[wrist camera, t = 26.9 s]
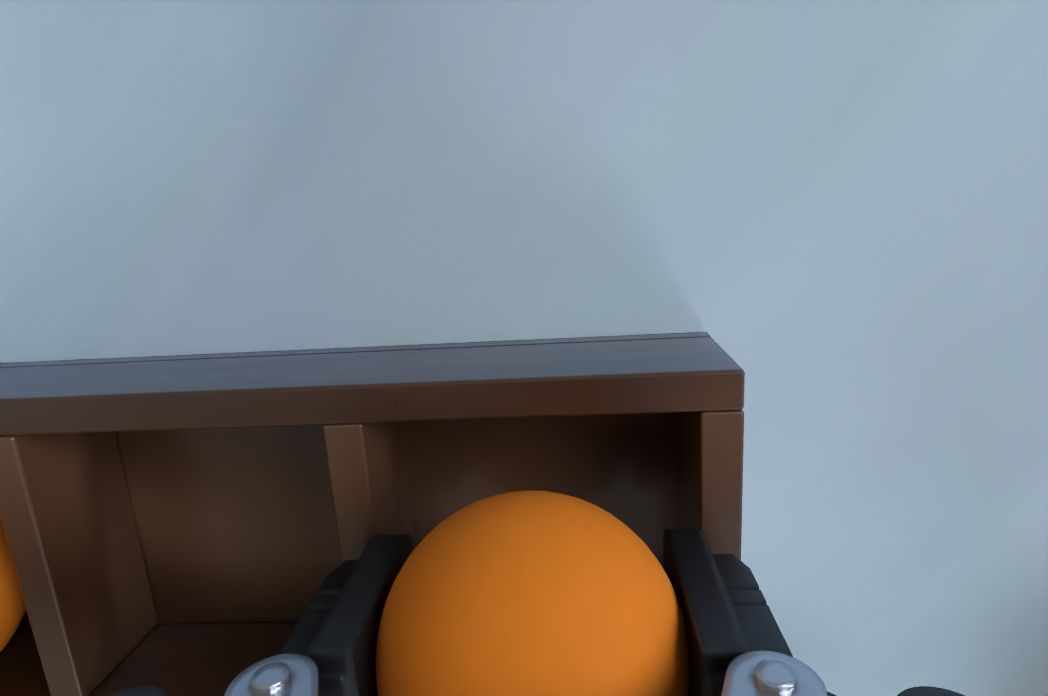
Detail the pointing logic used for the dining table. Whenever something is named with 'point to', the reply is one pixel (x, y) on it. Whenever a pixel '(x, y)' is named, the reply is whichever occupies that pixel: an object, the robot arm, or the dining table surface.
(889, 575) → the dining table surface
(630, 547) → the clementine
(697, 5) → the dining table surface
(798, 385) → the dining table surface
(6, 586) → the clementine
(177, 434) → the fruit rack
